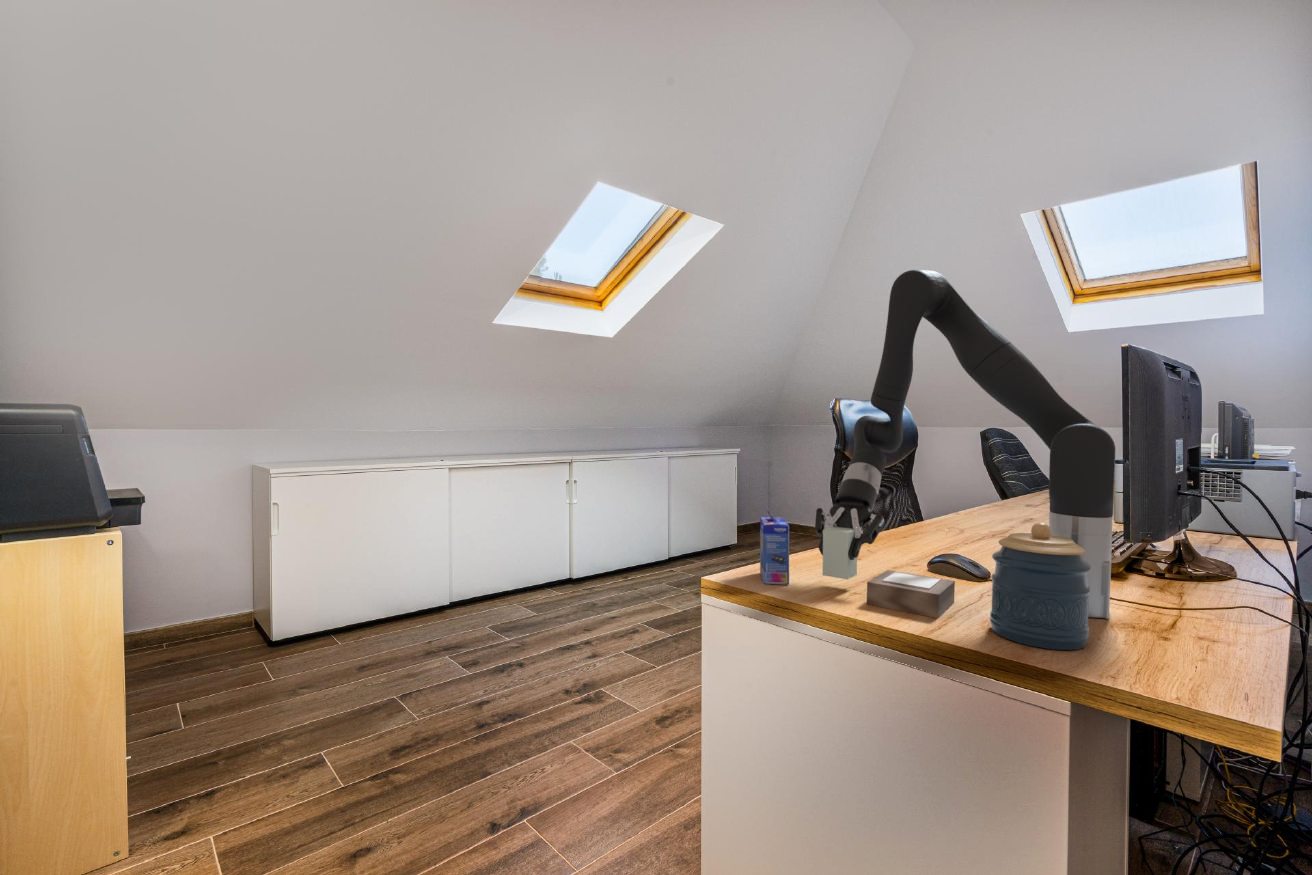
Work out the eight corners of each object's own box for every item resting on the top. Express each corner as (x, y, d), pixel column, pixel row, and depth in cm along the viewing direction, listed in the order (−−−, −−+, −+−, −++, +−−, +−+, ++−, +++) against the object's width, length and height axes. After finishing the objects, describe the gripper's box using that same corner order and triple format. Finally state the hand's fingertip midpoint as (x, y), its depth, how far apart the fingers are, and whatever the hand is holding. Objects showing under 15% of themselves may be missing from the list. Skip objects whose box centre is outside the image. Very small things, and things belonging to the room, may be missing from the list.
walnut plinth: (954, 602, 111) (954, 579, 110) (938, 618, 101) (939, 592, 101) (887, 590, 118) (887, 568, 118) (866, 603, 108) (867, 580, 108)
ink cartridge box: (758, 572, 130) (759, 505, 130) (784, 573, 130) (785, 506, 130) (761, 584, 121) (763, 512, 120) (789, 585, 120) (791, 513, 120)
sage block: (856, 574, 119) (857, 529, 119) (847, 579, 115) (848, 532, 115) (832, 570, 122) (833, 526, 122) (822, 575, 118) (823, 529, 118)
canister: (980, 636, 93) (984, 522, 92) (998, 617, 102) (1002, 513, 102) (1084, 659, 84) (1089, 533, 84) (1092, 635, 94) (1097, 523, 94)
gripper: (821, 475, 129) (796, 539, 119) (890, 479, 120) (869, 548, 111) (830, 498, 133) (807, 561, 124) (897, 503, 124) (878, 572, 115)
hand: (836, 555), depth 117 cm, fingers closed on sage block, 5 cm apart
